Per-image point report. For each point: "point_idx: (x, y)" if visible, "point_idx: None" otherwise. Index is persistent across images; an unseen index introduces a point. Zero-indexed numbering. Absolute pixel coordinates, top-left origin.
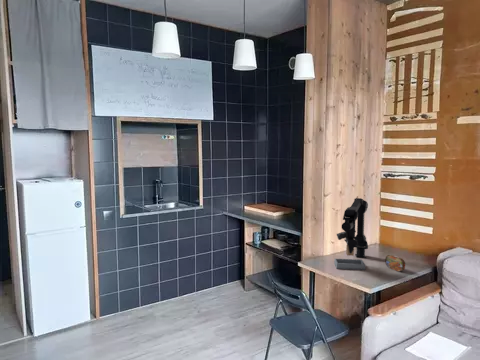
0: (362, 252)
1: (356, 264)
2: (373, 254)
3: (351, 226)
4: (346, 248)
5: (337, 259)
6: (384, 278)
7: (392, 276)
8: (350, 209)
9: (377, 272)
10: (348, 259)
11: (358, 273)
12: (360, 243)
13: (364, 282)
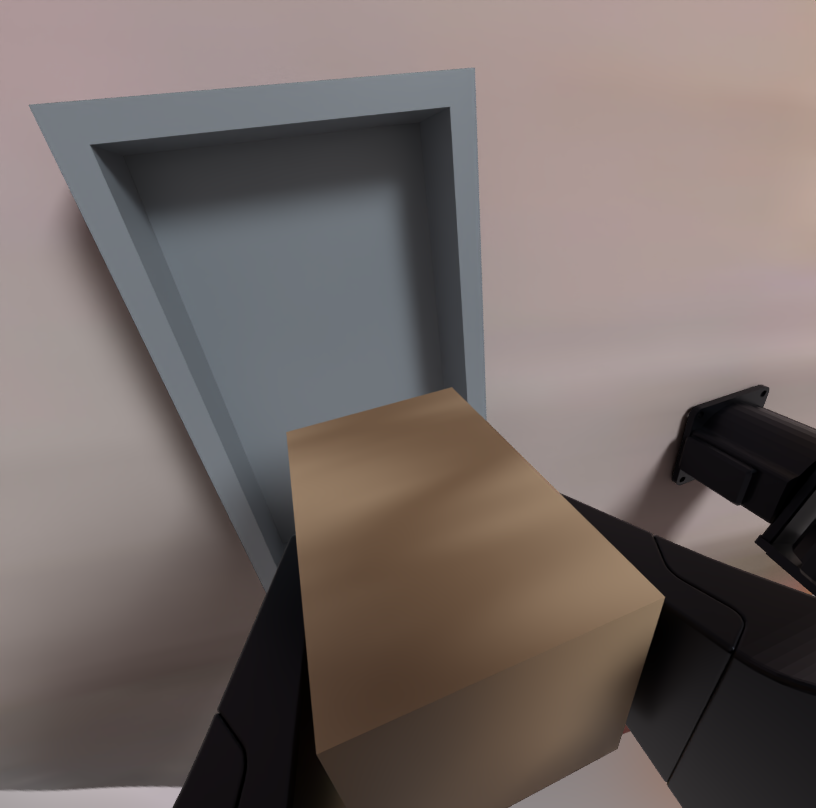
0: (726, 487)
1: (229, 511)
2: (737, 510)
3: None
4: (508, 481)
5: (447, 151)
6: (45, 736)
7: (174, 747)
8: None
9: (239, 644)
10: (465, 369)
11: (52, 510)
12: None
13: None
